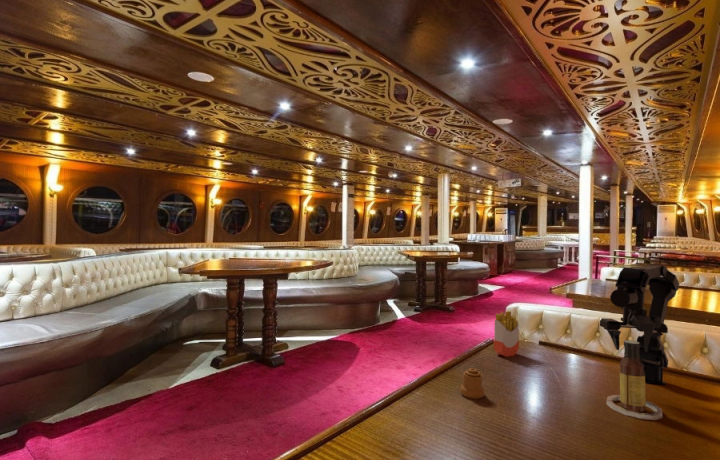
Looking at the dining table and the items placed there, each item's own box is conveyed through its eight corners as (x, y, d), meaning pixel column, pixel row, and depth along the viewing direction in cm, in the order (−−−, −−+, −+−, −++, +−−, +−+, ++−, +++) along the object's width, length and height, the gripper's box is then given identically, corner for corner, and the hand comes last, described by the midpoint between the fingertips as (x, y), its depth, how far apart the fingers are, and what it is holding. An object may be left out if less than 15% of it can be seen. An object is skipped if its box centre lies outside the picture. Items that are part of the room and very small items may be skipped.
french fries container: (519, 354, 164) (520, 312, 165) (502, 358, 159) (504, 314, 159) (510, 351, 168) (511, 310, 168) (493, 354, 163) (494, 312, 163)
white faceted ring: (643, 400, 121) (643, 397, 121) (673, 421, 108) (673, 417, 108) (598, 397, 122) (598, 393, 122) (622, 417, 109) (622, 413, 109)
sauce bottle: (649, 410, 114) (651, 343, 114) (639, 415, 111) (641, 346, 111) (624, 401, 120) (626, 338, 120) (614, 405, 117) (616, 340, 117)
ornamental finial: (467, 388, 127) (488, 395, 122) (455, 394, 121) (477, 402, 116) (467, 363, 127) (489, 369, 122) (456, 369, 121) (478, 375, 116)
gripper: (617, 307, 123) (615, 356, 123) (680, 311, 121) (678, 360, 121) (599, 301, 134) (598, 346, 134) (657, 304, 132) (655, 350, 132)
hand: (632, 350), depth 130 cm, fingers open, 9 cm apart
